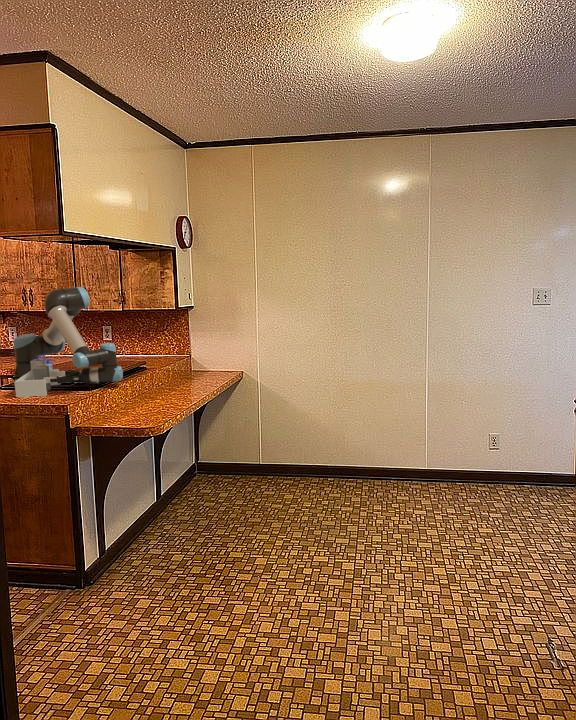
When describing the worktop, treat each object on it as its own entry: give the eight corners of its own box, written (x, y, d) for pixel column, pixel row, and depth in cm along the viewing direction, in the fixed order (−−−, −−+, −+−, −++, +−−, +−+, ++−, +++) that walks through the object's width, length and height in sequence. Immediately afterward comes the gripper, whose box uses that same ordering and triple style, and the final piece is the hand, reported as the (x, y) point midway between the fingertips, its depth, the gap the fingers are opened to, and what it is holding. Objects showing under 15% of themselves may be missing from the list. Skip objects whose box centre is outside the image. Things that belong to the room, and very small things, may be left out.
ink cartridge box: (54, 380, 338) (51, 354, 335) (48, 383, 332) (45, 356, 329) (38, 380, 340) (35, 354, 337) (32, 383, 334) (28, 356, 331)
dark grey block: (39, 389, 319) (36, 366, 317) (51, 388, 320) (48, 365, 317) (35, 392, 314) (32, 368, 311) (47, 391, 314) (45, 368, 312)
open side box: (32, 385, 328) (30, 370, 326) (60, 384, 329) (58, 369, 327) (16, 397, 304) (14, 381, 303) (46, 396, 305) (44, 380, 304)
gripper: (85, 388, 305) (41, 390, 304) (97, 376, 329) (55, 378, 328) (84, 373, 304) (39, 375, 302) (95, 362, 328) (54, 364, 326)
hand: (47, 377), depth 315 cm, fingers open, 13 cm apart
